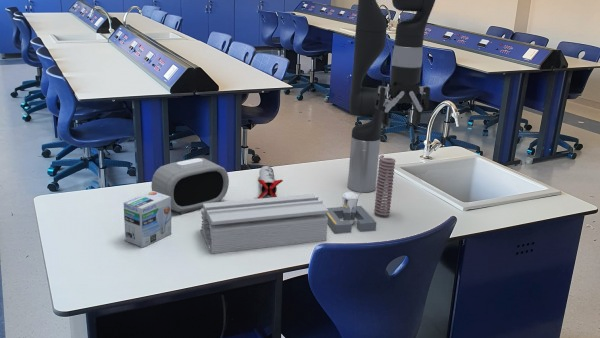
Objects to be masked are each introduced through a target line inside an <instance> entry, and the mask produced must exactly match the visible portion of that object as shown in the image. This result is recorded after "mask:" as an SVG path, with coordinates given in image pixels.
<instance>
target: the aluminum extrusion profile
mask: <svg viewBox="0 0 600 338" xmlns="http://www.w3.org/2000/svg"><path fill="white" fill-rule="evenodd" d="M327 208H328V207H326V205H324V202H323V200H320V199H319V196H316V195H314V193H309V194H298V195H295V194H294V195H285V196H277V197H273V196H271V197H263V198H260V199H258V198H252V199H251V198H250V199H240V200H239V199H237V200H229V201H228V200H227V201H218V202H215V203H203V208H200V210H201V212H200V213H201V214H200V215H201V226H200V228H201V229H200V230H201V233H202V236H203V237H204V240H205V241H206V243H207V245H208V248H209V251H210V252H211V254H222V253H231V252H238V251H247V250H256V249H265V248H272V247H273V248H274V247H283V246H289V245H291V246H292V245H298V244H309V243H315V242H323V241H327V235H328V224H327V222H328V218H327V217H326V215H324V214H325V213H328V209H327Z"/></svg>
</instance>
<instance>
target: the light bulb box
mask: <svg viewBox="0 0 600 338" xmlns="http://www.w3.org/2000/svg"><path fill="white" fill-rule="evenodd" d="M123 219H124V223H123V224H124V238H125V239H124V240H125V241H126V242H128V243H131V244H133V245H135V246H137V247H141V248H145V247H147V246H149V245H151V244H153V243H155V242H157V241H160V240H162V239H164V238H166V237H168V236H171V235H172V209H171V197H170V196H167V195H164V194H161V193H158V192H155V191H152V190H151V191H150V192H147V193H144V194H141V195H139V196H137V197H134V198H131V199H129V200H125V201H124V202H123Z"/></svg>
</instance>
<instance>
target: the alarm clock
mask: <svg viewBox="0 0 600 338" xmlns="http://www.w3.org/2000/svg"><path fill="white" fill-rule="evenodd" d="M229 179H230V178H229V174H228V172H227V170H226V169H225V167H223V166H221V165H219V164H217V163H215V162H213V161H210V160H208V159H206V158H204V157H197V158H191V159H185V160H179V161H175V162H170V163H167V164H165V165H161V166H159V168H157V169H156V170H155V172H154V174H153V175H152V179H151V186H150V187H151V191H155V192H158V193H161V194H164V195H167V196H170V197H171V211H172V210H173V211H175V212H177V213H180V214H186V213H189V212H192V211H196V210H201V209H203V203H215V202H221V201H222V200H223V199H224V198H225V197H226V194H227V193H228V189H229V183H230V180H229Z"/></svg>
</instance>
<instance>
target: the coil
mask: <svg viewBox="0 0 600 338" xmlns="http://www.w3.org/2000/svg"><path fill="white" fill-rule="evenodd" d="M395 166H396V159H395V158H392V157H385V155H384V154H381V155H379V158H378V169H377V178H376V188H375V190H376V192H375V199H374V201H375V202H374V210H373V211H374V214H377V215H379V216H389V215H390V214H391V207H392V205H391V203H392V195H393V193H392V192H393V187H394V183H393V182H394V177H395V176H394V175H395V169H396V168H395Z"/></svg>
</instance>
